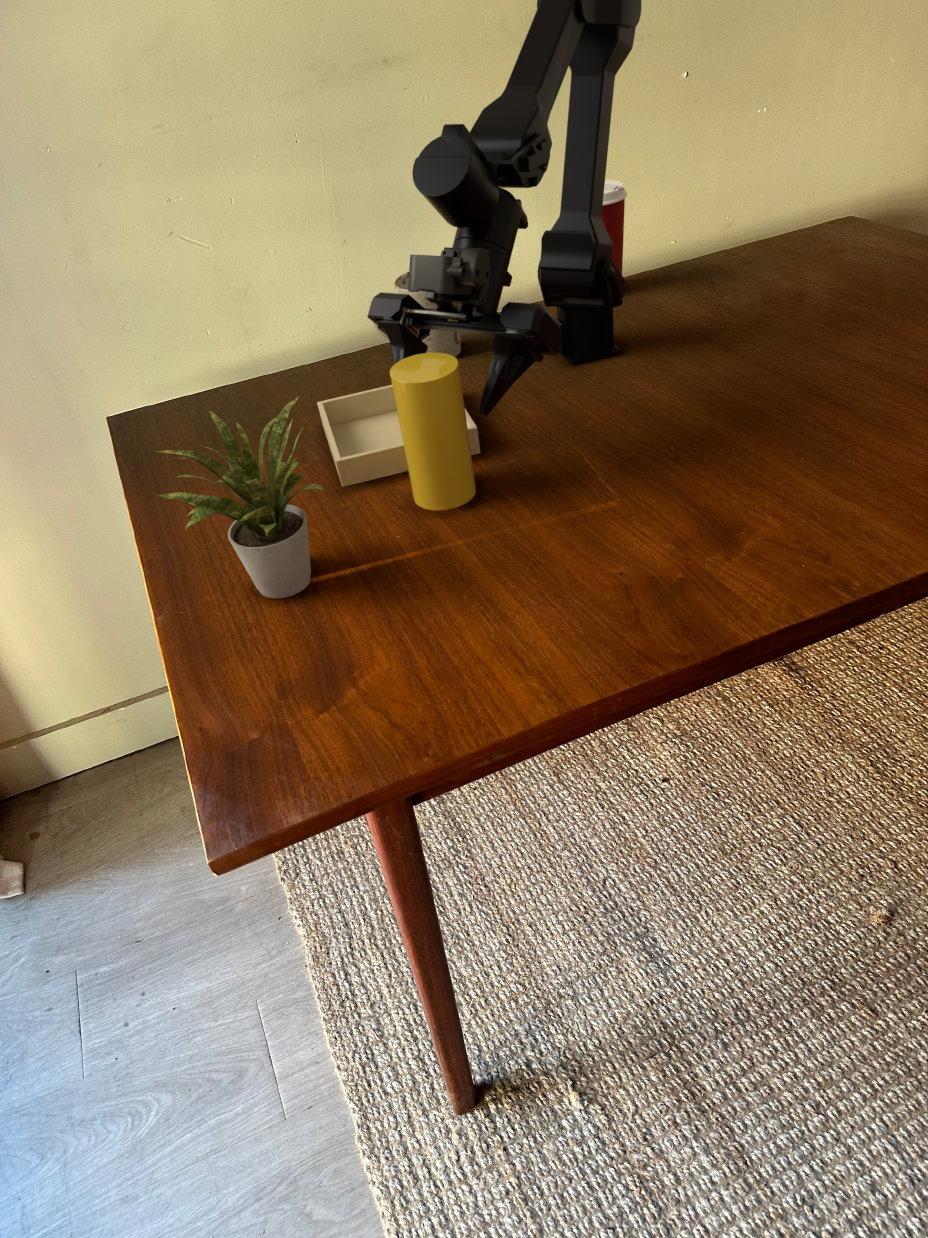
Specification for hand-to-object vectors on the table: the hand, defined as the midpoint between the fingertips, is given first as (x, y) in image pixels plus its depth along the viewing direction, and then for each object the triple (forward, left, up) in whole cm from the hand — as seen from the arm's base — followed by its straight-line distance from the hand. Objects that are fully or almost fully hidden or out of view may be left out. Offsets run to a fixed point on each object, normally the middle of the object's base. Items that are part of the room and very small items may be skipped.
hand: (441, 408), depth 88 cm
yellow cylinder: (+1, +1, -9) cm, 9 cm away
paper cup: (-33, -43, -9) cm, 55 cm away
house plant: (+18, +7, -9) cm, 22 cm away
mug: (-5, -35, -9) cm, 37 cm away
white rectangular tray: (+3, -13, -9) cm, 16 cm away
